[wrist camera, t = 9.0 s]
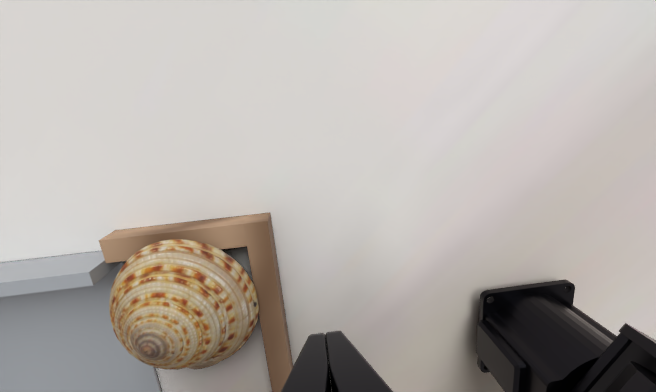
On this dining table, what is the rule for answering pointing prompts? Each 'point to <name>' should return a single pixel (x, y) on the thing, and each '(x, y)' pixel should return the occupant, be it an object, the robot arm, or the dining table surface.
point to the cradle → (224, 236)
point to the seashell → (182, 305)
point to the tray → (64, 328)
